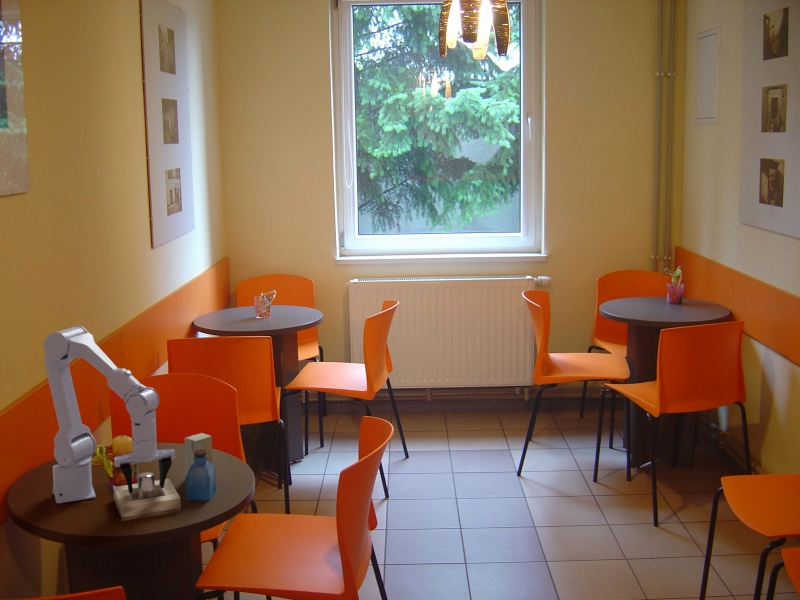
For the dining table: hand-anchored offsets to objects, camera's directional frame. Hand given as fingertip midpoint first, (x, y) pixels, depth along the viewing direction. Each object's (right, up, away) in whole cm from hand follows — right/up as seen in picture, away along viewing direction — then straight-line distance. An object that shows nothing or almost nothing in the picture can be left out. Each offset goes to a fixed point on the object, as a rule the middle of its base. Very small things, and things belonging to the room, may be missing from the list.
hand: (146, 489), depth 215 cm
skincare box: (+9, -2, +18) cm, 21 cm away
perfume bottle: (+12, -4, +8) cm, 15 cm away
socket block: (0, -4, +1) cm, 4 cm away
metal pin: (0, -3, +1) cm, 3 cm away
